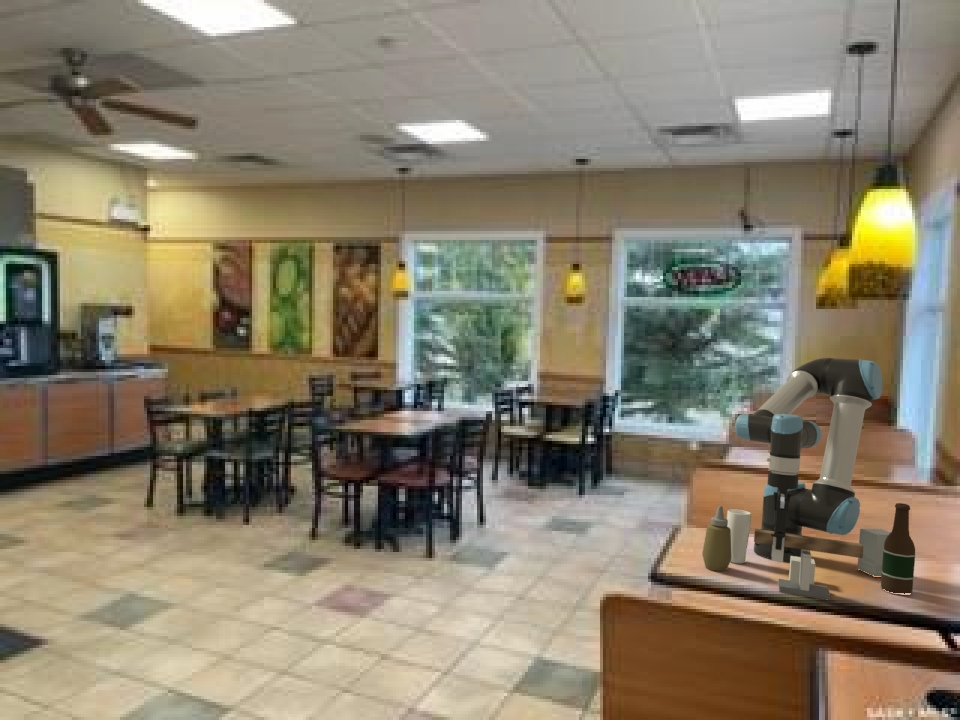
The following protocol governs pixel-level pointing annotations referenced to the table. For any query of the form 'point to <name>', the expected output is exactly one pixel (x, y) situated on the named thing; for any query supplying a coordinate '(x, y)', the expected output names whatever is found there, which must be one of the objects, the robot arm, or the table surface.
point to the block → (795, 569)
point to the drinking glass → (739, 533)
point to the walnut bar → (812, 543)
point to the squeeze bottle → (717, 543)
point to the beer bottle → (898, 554)
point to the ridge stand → (804, 581)
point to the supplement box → (872, 550)
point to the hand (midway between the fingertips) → (777, 559)
